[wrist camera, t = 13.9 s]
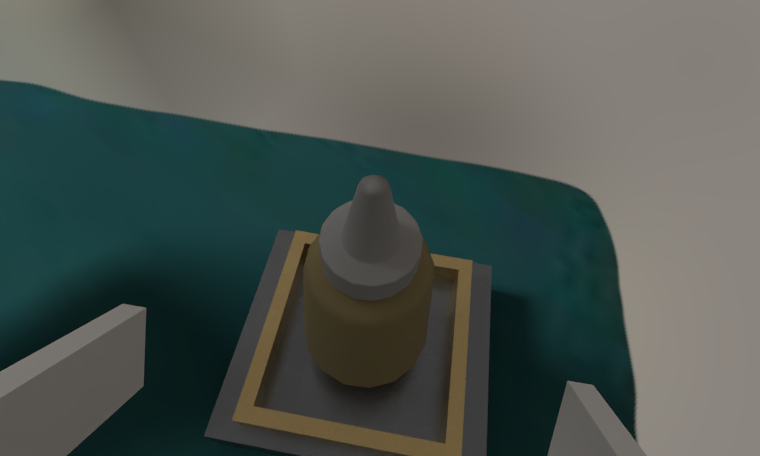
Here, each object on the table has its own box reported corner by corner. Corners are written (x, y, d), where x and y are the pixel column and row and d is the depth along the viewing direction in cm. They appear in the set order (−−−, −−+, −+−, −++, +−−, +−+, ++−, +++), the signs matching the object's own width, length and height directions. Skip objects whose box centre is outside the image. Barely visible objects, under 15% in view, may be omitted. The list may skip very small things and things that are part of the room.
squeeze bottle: (442, 337, 31) (524, 183, 16) (369, 427, 27) (385, 339, 12) (361, 270, 34) (366, 85, 19) (285, 345, 30) (214, 190, 15)
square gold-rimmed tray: (220, 443, 30) (193, 431, 25) (285, 252, 39) (275, 215, 34) (470, 493, 29) (494, 492, 24) (479, 286, 38) (498, 254, 33)
